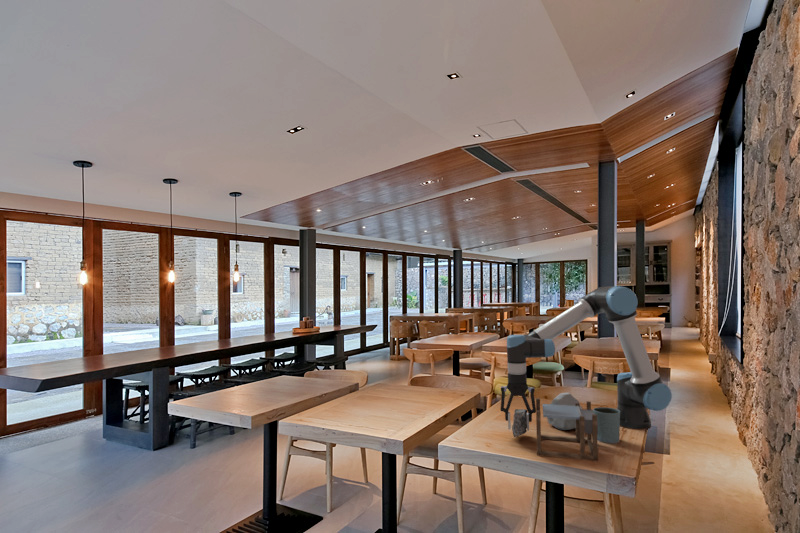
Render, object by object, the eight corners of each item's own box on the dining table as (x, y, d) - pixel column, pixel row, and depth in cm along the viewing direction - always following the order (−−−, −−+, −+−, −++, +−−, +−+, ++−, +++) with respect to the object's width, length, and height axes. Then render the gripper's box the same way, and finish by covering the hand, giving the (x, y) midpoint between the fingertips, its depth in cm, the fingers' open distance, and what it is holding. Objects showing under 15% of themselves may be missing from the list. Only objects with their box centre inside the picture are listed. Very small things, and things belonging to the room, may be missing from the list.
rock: (524, 438, 186) (519, 412, 188) (504, 439, 190) (499, 413, 192) (537, 431, 198) (532, 406, 201) (518, 432, 203) (514, 408, 205)
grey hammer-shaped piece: (592, 421, 189) (592, 406, 189) (598, 435, 172) (597, 418, 173) (542, 418, 194) (542, 403, 194) (543, 430, 178) (543, 414, 178)
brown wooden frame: (591, 441, 191) (590, 401, 191) (597, 460, 170) (596, 415, 171) (536, 437, 196) (536, 398, 197) (536, 455, 176) (536, 411, 177)
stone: (566, 422, 218) (565, 389, 218) (586, 429, 206) (586, 394, 207) (546, 425, 213) (545, 391, 214) (565, 433, 202) (565, 397, 202)
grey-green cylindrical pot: (618, 445, 186) (618, 414, 187) (591, 441, 192) (590, 411, 192) (622, 438, 195) (621, 408, 195) (596, 434, 200) (595, 405, 201)
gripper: (541, 371, 197) (543, 427, 196) (493, 370, 202) (495, 425, 202) (542, 375, 190) (544, 433, 189) (491, 373, 195) (493, 430, 194)
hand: (518, 429), depth 195 cm, fingers open, 7 cm apart
